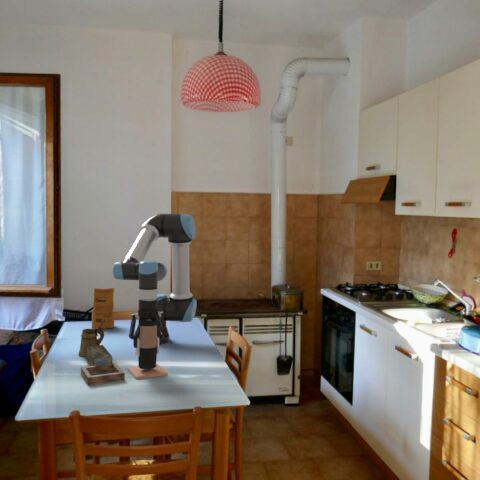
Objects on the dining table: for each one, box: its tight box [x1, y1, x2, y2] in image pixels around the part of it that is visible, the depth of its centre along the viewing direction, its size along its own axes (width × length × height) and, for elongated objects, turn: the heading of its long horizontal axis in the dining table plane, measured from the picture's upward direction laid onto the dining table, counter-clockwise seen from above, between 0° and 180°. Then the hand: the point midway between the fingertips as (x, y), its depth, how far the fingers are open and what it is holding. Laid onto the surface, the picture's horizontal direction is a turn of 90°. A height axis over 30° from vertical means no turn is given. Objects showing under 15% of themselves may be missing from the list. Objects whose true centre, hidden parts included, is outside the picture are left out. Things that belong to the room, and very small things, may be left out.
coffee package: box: [91, 287, 115, 330], centre depth 295 cm, size 10×12×22 cm
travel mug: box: [137, 317, 158, 369], centre depth 217 cm, size 8×8×20 cm
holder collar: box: [80, 362, 126, 386], centre depth 210 cm, size 14×14×3 cm
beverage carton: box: [85, 344, 114, 366], centre depth 227 cm, size 8×19×7 cm, turn 26°
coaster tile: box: [126, 363, 169, 380], centre depth 218 cm, size 13×13×1 cm
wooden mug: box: [78, 316, 109, 358], centre depth 242 cm, size 9×14×18 cm, turn 93°
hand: (147, 354), depth 217 cm, fingers closed on travel mug, 8 cm apart
